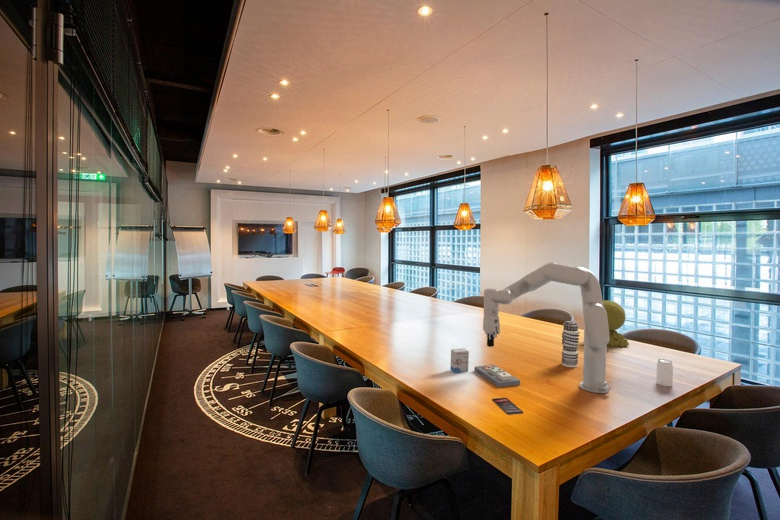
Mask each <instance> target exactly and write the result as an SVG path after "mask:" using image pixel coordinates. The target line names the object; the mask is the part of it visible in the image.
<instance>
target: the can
mask: <svg viewBox="0 0 780 520" xmlns="http://www.w3.org/2000/svg"><path fill="white" fill-rule="evenodd" d="M673 374H674V365H673V361H672V360H669V359H665V358H659V359H657V363H656V374H655V375H656V377H655V380H656V381H655V382H656V384H657V385H659V386H661V387H666V388H671V387H672V386H673V379H674V378H673V376H674V375H673Z"/></svg>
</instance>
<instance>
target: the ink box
mask: <svg viewBox="0 0 780 520" xmlns="http://www.w3.org/2000/svg"><path fill="white" fill-rule="evenodd" d="M469 353H470V351H469V350H468V349H466V348H465V347H464V348H451V349H450V371H451V372H453V373H454V374H457V373H468V372H469V359H470V357H469V356H470V354H469Z"/></svg>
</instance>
